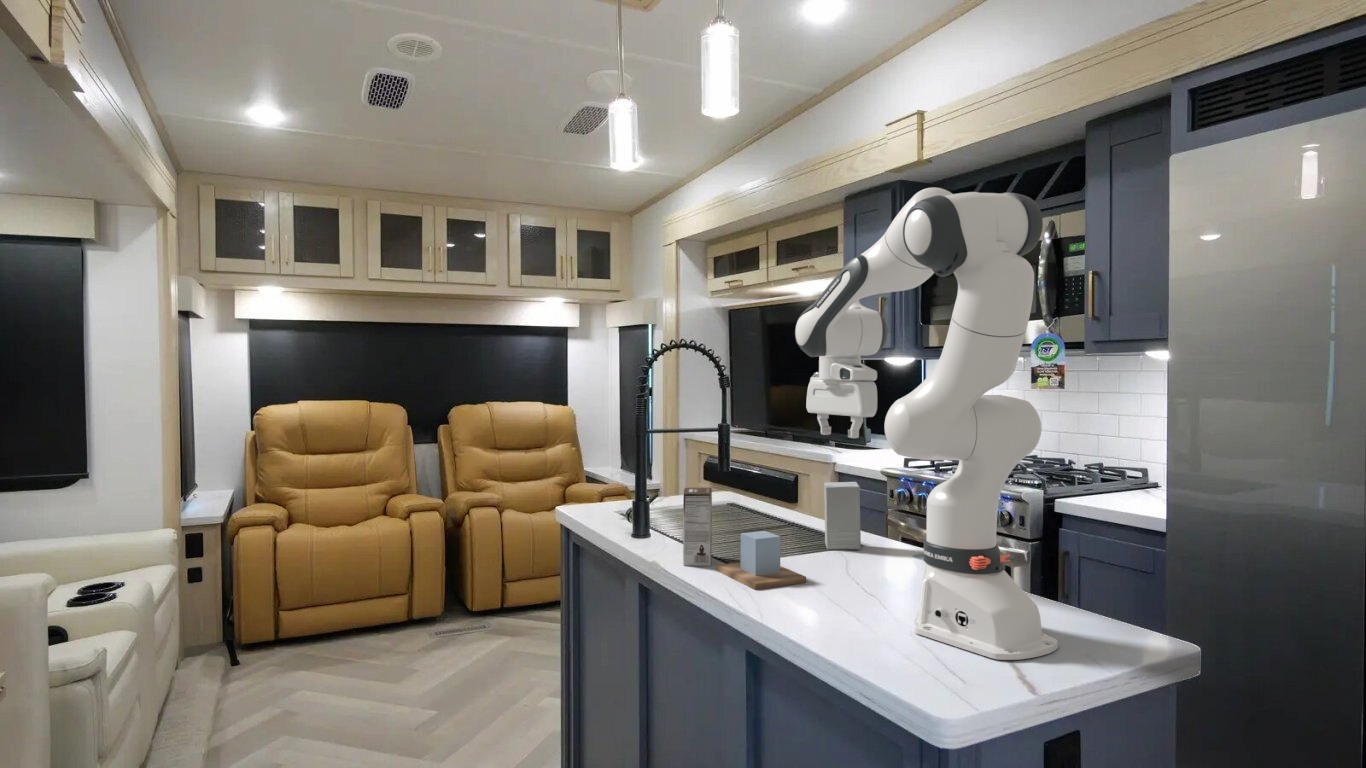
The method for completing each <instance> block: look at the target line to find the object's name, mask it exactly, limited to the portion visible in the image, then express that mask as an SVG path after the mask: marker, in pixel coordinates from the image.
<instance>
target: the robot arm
mask: <svg viewBox="0 0 1366 768" xmlns="http://www.w3.org/2000/svg"><path fill="white" fill-rule="evenodd" d="M1043 225H1044V222H1043V216H1042V210H1041V209H1040V207H1039V205H1038V204H1037V202H1036V201H1035V200H1034V199H1032V198H1031V197H1029V196H1027V195H1024V194H1022V193H1021V194H1020V193H1015V192H1011V191H1010V192H1008V191H1007V192H1002V193H1001V192H1000V193H998V192H997V193H996V192H979V191H978V192H977V191H968V192H967V191H966V192H959V193H952V192H951V191H949V190H947V189H944V188H942V187H927V188H924V189H921V190H919V191H917V192H916V193H915V194H914V195H913V196H912V197H911V198H910V199H909V200H908V201H907V202H906V203H905V205H904V206H902V208H901V209H900V211H899V212H898V213H897V214H896V216H895V217H894V219H893V220H892V221H891V223H890V224H889V226H888V228H887V229H886V230H885V233H884V234H883V235H882V236H881V237H880V238H879V239H878V240H877V241H876V242H875V243H874V244H872V246H871V247H869V248H867V250H865V251H864V252H862V253H861V254H859V255H857V256H855V257H854V258H852V259H850V260H849V261H848V262H847V263H846V264H845V265H844V266H843V267H842V269H841V270H839V272H838V273H837V275H836V276H835V277H834V278H833V279H832V280H831V282H829V284H828V285H827V287H825V289H824V290H823V292H822V293H821V294H820V295H819V296H818V298H817V299H816V300H815V301H814V302H813V303H812V304H811V305H809V306H808V307H807V308H805V310H804V311H802V313H800V315H799V317H798V318H797V320H796V323H795V329H794V338H795V339H794V340H795V342H796V345H798V347H799V348H800V350H801V351H802V352H804V353H805V354H806V355H807V356H808V357H810V358H815V357H816V358H817V357H819V358H818V359H819V360H818V371H816V372H814V373H813V375H811V377H810V379H809V383H808V386H807V391H806V402H805V403H806V405H805V406H806V407H805V408H806V410H807V411H806V412H808V413H810V414H817V416H816V418H817V422H818V424H819V427H820V434H821V435H824V436H830V435H831V434H832V426H830V425H829V421H828V419H830V418H829V416H830V415H831V416H833V415H834V416H843V417H845V416H847V417H850V422H852V423H851V425H850V429H847V438H850V439H858V438H859V437H860V429H861V427H862V424H863V423H864V418H873V417H874V416H876V414H877V411H878V388H877V385H876V383H875V381H876V380H877V379H878V371H877V370H876V369H873V368H871V367H869V366H867V365H865V364H863V363H862V357H861V356H863V357H864V356H867V357H868V356H871V355H872V356H873V355H876V354H878V353H879V352H880V351H881V350H882V349H883V348H884V347H885V345H886V344H887V340H888V333H889V332H888V331H889V330H888V323H887V321H886V318H885V317H884V316H883V314H881V313H880V312H879V311H878V310H875V309H871V308H869V307H866V306H865V305H862V304H861V301H860V300H861V299H863V298H867V297H870V296H874V295H875V296H876V295H880V294H881V295H882V294H887V293H895V292H902V291H909V290H913V289H915V288H917V287H919V286H921V285H922V284H923V283H925V282H926V281H927V280H929V279H930V278H931V277H932V276H933V275H934V274H935V275H936V276H937V277H940V278H945V277H946V278H947V277H948V276H950V275H952V274H953V275H954V277H955V278H956V281H957V294H956V299H955V302H954V307H953V309H952V314H951V318H950V322H949V327H948V331H947V334H946V338H945V342H944V345H943V348H942V351H941V355H940V357H939V359H938V361H937V362H936V364H935V366H934V367H933V369H932V370H931V372H930V373H929V374H928V375H927V377H926V378H925V379H924V380H923V381H922V382H921V383H920V384H919V385H917V387H915V388H914V389H913V390H912V391H911V392H909V393H908V394H906V395H904V396H901V398H898V399H897V400H895V401H894V402H893V404H891V406H890V407H889V409H888V411H887V412H886V415H885V418H884V419H885V420H884V428H883V429H884V435H885V437H886V438H885V439H886V440H887V443H888V444H889V446H890V447H891V449H892V450H893V452H895V454H896V455H899V456H903V457H906V458H911V459H917V460H922V461H958V465H957V468H956V470H955V472H954V473H953V474H952V475H951V477H950V478H948V479H947V480H945V481H943V482H941V483H939V484H937V485H936V486H935V487H933V489H932V490H931V491H930V492H929V494H928V497H927V499H926V520H925V521H926V530H925V531H926V533H925V534H926V537H925V539H924V540H923V547H922V553H923V555H922V556H923V557H922V558H923V562H925V564H924V567H925V568H924V573H923V579H922V584H921V592H920V599H919V600H920V601H919V606H918V610H917V614H916V617H915V620H914V621H915V626H914V633H915V634H916V635H920V636H922V637H926V638H930V639H933V640H934V641H935V640H936V641H938V642H940V643H944V644H947V645H951V646H952V647H953V646H954V647H957V648H959V649H963V650H966V651H968V652H972V653H975V654H978V655H980V656H984V657H987V658H990V659H994V660H1002V661H1014V660H1015V661H1016V660H1017V661H1019V660H1025V659H1026V660H1027V659H1031V658H1032V659H1033V658H1037V657H1041V656H1045V655H1049V654H1051V653H1054V652H1055V651H1057V649H1058V648H1059V642H1058V640H1057V639H1056V638H1054V637H1052V636H1050V635H1048V634H1046V633H1044V632H1043V630H1042V621H1041V614H1040V611H1039V608H1038V607H1039V606H1038V605H1037V604H1036V602H1034V601H1033V600H1032V599H1031V597H1030V596H1028V594H1027V593H1026V592H1025V590H1023V589H1022V588H1021V587H1020V586H1019V584H1017V583H1016V582H1015V580H1014V579H1013V578H1012V577H1011V576H1010V575H1009V574H1008V572H1006V570H1005V569H1006V566H1005V563H1008V562H1011V559H1007V558H1009V557H1011V554H1009V553H1008V554H1002V553H1001V550H1000V547H999V544H997V528H998V527H997V525H998V524H997V523H998V512H999V511H998V510H999V503H1000V497H1001V494H1002V492H1003V491H1002V490H1003V488H1004V485H1005V484H1006V481H1007V479H1008V477H1009V476H1010V474H1011V473H1012V472H1013V470H1014V469H1015V467H1016V466H1017V465H1018V464H1019V463H1020V462H1021V461H1022V460H1023V459H1024V458H1026V457H1027V456H1028V455H1030V454H1031V453H1032V452H1033V451H1034V450H1035V449H1036V447H1037V446H1038V444H1039V441H1040V439H1041V436H1042V435H1041V434H1042V422H1041V418H1040V415H1039V413H1038V411H1037V410H1036V408H1035V407H1034V406H1033V404H1031V402H1030V401H1027V400H1026V399H1021V398H1017V397H1013V396H1006V395H1002V394H986V393H987V392H989V391H991V390H993V389H994V388H996V387H997V388H998V387H999V386H1000V385H1003V384H1004V383H1005V382H1006V381H1008V380H1009V379H1010V378H1011V377H1012V375H1013V374H1014V372H1015V371H1016V368H1017V363H1018V361H1019V357H1020V354H1021V349H1022V346H1023V343H1024V340H1025V336H1026V332H1027V328H1028V324H1029V320H1030V317H1031V311H1032V305H1033V298H1034V290H1035V289H1034V288H1035V272H1034V268H1033V267H1032V265H1031V263H1030V262H1029V261H1028V260H1027V259H1026V258H1024V257H1023V256H1024V255H1027V254H1029V253H1030V252H1031V251H1033V249H1035V248H1036V246H1037V245H1038V243H1039V241H1040V239H1041V237H1042V233H1043Z"/></svg>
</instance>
